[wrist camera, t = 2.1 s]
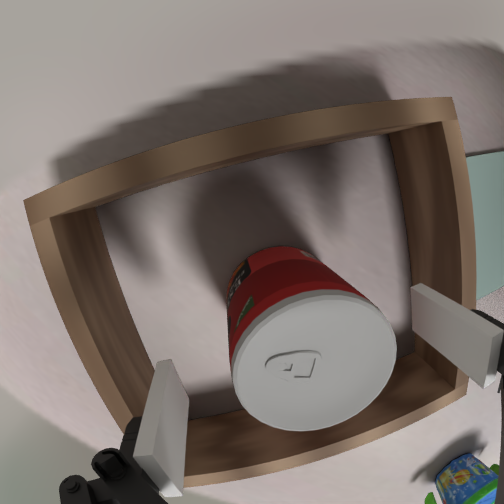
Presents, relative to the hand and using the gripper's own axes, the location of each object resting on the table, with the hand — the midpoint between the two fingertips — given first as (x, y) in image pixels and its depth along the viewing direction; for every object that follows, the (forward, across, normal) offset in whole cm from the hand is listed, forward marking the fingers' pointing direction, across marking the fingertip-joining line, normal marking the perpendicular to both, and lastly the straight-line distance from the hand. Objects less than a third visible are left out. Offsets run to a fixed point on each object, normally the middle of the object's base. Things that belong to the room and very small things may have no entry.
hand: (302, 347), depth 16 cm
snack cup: (+8, -21, +39) cm, 46 cm away
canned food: (+9, 0, 0) cm, 9 cm away
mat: (+8, -23, 0) cm, 25 cm away
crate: (+9, 0, 0) cm, 9 cm away
